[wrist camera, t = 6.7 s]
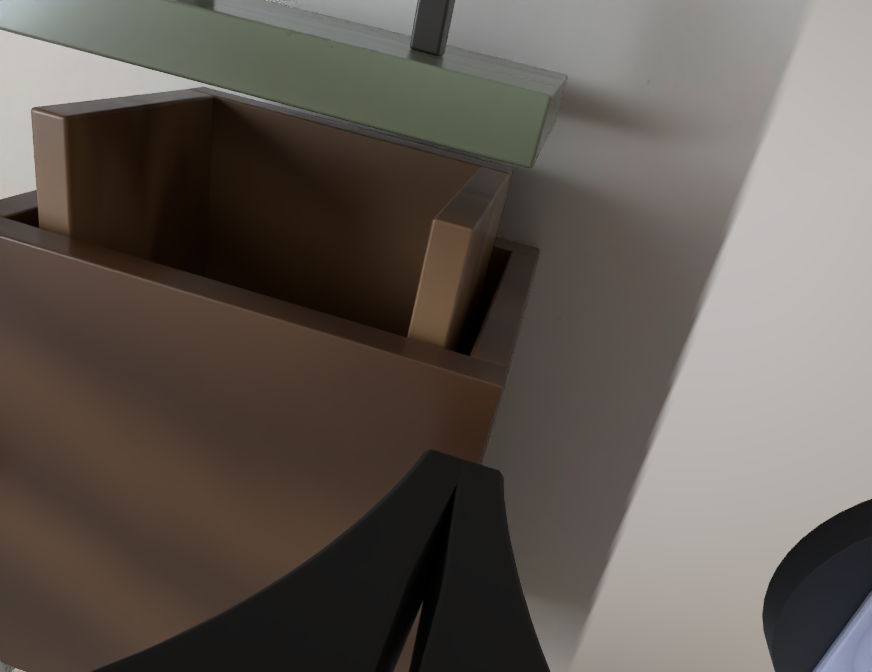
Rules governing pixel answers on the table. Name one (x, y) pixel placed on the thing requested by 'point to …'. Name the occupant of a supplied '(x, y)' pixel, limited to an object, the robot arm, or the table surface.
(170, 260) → the drawer
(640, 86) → the table surface
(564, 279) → the table surface
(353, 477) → the cabinet
